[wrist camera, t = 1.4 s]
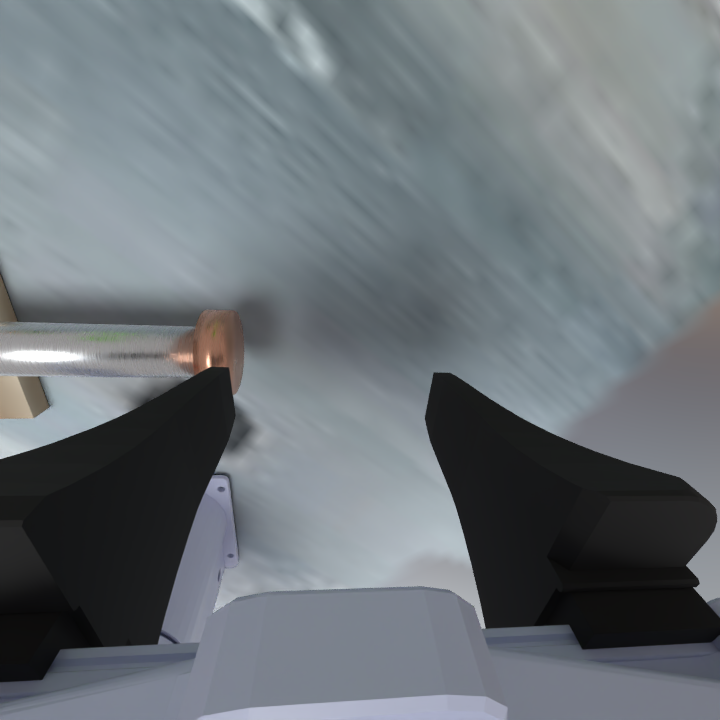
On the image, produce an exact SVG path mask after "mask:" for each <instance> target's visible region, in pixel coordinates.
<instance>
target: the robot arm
mask: <svg viewBox="0 0 720 720" xmlns="http://www.w3.org/2000/svg"><path fill="white" fill-rule="evenodd" d="M234 419H235V408H234V401H233V393H232V385H231V378H230V370H229V367H209V368H207V369H205V370H203V371H201V372H200V373H198V374H196V375H194V376H193V377H191V378H189V379H188V380H186V381H184V382H183V383H181V384H179V385H178V386H176V387H174V388H173V389H171V390H169V391H168V392H166V393H164V394H162V395H160V396H159V397H157V398H155V399H153V400H151V401H149V402H147V403H146V404H144V405H142V406H140V407H138V408H136V409H134V410H132V411H130V412H128V413H126V414H124V415H122V416H120V417H118V418H115V419H113V420H111V421H109V422H106V423H104V424H102V425H99V426H97V427H94V428H92V429H89V430H87V431H84V432H81V433H79V434H76V435H73V436H71V437H68V438H65V439H63V440H60V441H57V442H55V443H52V444H49V445H46V446H42V447H39V448H36V449H33V450H30V451H27V452H24V453H20V454H17V455H14V456H10V457H7V458H4V459H0V720H720V598H716V599H714V600H711V601H709V602H707V603H706V602H705V601H704V600H703V598H702V597H701V596H700V595H699V594H698V593H697V592H696V591H695V589H694V588H693V587H697V586H698V585H699V580H698V578H697V577H696V576H695V575H694V574H693V573H692V572H691V571H690V569H689V568H688V567H687V566H686V564H687V563H688V562H689V561H690V560H691V559H692V558H693V556H694V555H695V554H696V553H697V552H698V551H699V549H700V548H701V547H702V546H703V545H704V544H705V542H706V541H707V540H708V539H709V537H710V536H711V534H712V533H713V532H714V529H715V526H716V523H717V514H716V509H715V507H714V506H713V505H712V504H711V503H710V502H709V501H708V500H707V499H706V498H704V497H703V496H702V495H701V494H700V493H698V492H697V491H696V490H695V489H694V488H692V487H691V486H690V485H689V484H688V483H686V482H685V481H684V480H682V479H681V478H679V477H676V476H672V475H669V474H665V473H662V472H658V471H655V470H651V469H648V468H644V467H641V466H637V465H634V464H630V463H627V462H624V461H621V460H618V459H616V458H612V457H610V456H607V455H604V454H601V453H598V452H595V451H593V450H590V449H588V448H585V447H582V446H580V445H577V444H575V443H573V442H570V441H568V440H566V439H563V438H561V437H558V436H556V435H554V434H552V433H550V432H548V431H546V430H544V429H542V428H540V427H538V426H536V425H534V424H532V423H530V422H528V421H526V420H524V419H522V418H520V417H519V416H517V415H515V414H514V413H512V412H510V411H509V410H507V409H505V408H504V407H502V406H500V405H499V404H497V403H496V402H494V401H492V400H491V399H489V398H488V397H486V396H485V395H483V394H482V393H480V392H479V391H478V390H476V389H475V388H473V387H472V386H470V385H469V384H467V383H466V382H464V381H463V380H461V379H460V378H458V377H457V376H455V375H453V374H451V373H434V374H433V379H432V384H431V389H430V394H429V399H428V405H427V410H426V415H425V421H426V426H427V430H428V434H429V438H430V442H431V444H432V447H433V450H434V452H435V455H436V457H437V460H438V462H439V465H440V467H441V470H442V472H443V475H444V477H445V479H446V482H447V484H448V487H449V489H450V492H451V494H452V497H453V500H454V503H455V506H456V509H457V512H458V516H459V519H460V523H461V526H462V530H463V533H464V537H465V541H466V545H467V549H468V553H469V556H470V560H471V564H472V568H473V573H474V577H475V581H476V585H477V590H478V594H479V598H480V603H481V607H482V612H483V617H484V622H485V627H486V629H481V626H480V623H479V620H478V617H477V614H476V611H475V608H474V606H472V605H471V604H470V603H468V602H467V601H465V600H464V599H462V598H461V597H460V596H458V595H457V594H455V593H453V592H452V591H450V590H446V589H437V588H430V587H422V586H418V587H388V588H360V589H332V590H304V591H275V592H265V593H260V594H254V595H249V596H244V597H238V598H236V599H235V600H233V601H231V602H230V603H228V604H227V605H225V606H224V607H222V608H221V609H219V610H217V611H216V612H214V613H213V610H214V606H215V603H216V599H217V595H218V591H219V588H220V584H221V580H222V576H223V572H224V569H225V568H234V567H236V566H237V565H238V562H239V556H238V548H237V540H236V532H235V524H234V515H233V507H232V499H231V491H230V483H229V479H228V477H227V476H224V475H213V473H214V471H215V469H216V467H217V465H218V463H219V460H220V458H221V456H222V454H223V452H224V449H225V447H226V445H227V442H228V440H229V437H230V433H231V430H232V427H233V423H234ZM221 487H224V488H221Z"/></svg>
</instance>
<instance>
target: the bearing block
mask: <svg viewBox="0 0 720 720" xmlns="http://www.w3.org/2000/svg"><path fill="white" fill-rule="evenodd" d="M0 322H18V321H17V318H16V316H15V313H14V310H13V307H12V305H11V302H10V299H9V297H8V294H7V291H6V289H5V286H4V283H3V280H2V278H1V275H0ZM47 408H49V405H48V402H47V400H46V397H45V394H44V391H43V389H42V386H41V383H40V381H39V378H38V376H0V419H17V418H35V417H36V416H38V415H39V414H40V413H42V412H43V411H45V410H46V409H47Z"/></svg>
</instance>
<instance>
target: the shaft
mask: <svg viewBox="0 0 720 720" xmlns="http://www.w3.org/2000/svg"><path fill="white" fill-rule="evenodd" d="M243 365H244V337H243V329H242V324H241V320H240V317H239V315H238V313H237V312H236V311H232V310H204V311H203V312H202V313H201V315H200V316H199V318H198V321H197V324H196V327H191V326H153V325H114V324H76V323H38V322H0V376H40V377H184V378H191V377H193V376H194V375H196V374H198V373H200V372H201V371H203V370H205V369H207V368H209V367H229V370H230V378H231V385H232V393H233V395H234V394H236V393H237V391H238V389H239V387H240V383H241V379H242V374H243Z"/></svg>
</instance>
